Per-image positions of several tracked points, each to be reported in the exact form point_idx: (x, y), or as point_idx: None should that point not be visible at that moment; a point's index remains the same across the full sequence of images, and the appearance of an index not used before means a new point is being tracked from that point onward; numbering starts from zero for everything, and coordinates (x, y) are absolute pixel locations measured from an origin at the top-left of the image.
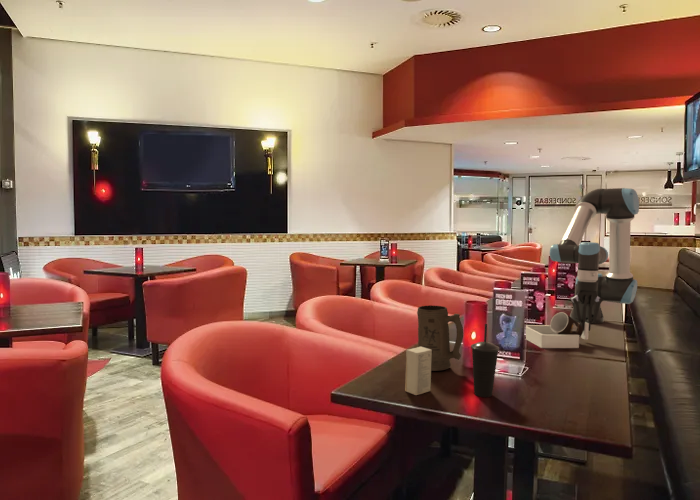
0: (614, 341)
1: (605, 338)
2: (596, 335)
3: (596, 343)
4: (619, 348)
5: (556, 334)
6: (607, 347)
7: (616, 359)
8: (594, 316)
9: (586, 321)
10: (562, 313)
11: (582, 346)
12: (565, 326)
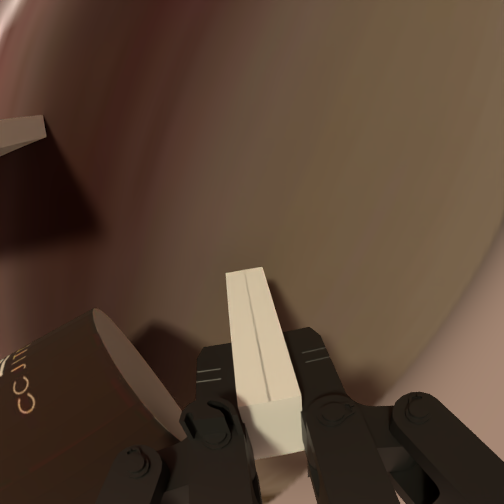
0: (484, 210)
1: (479, 119)
2: (457, 20)
3: (334, 296)
4: (397, 376)
5: (24, 143)
6: (344, 377)
7: (263, 494)
8: (416, 500)
9: (304, 432)
10: None
11: (186, 388)
12: (28, 369)
